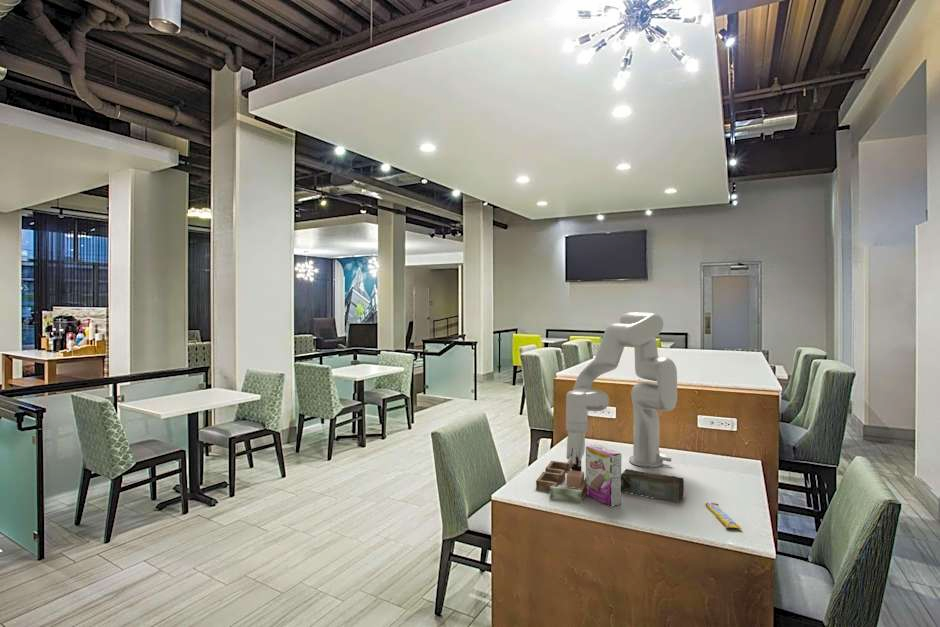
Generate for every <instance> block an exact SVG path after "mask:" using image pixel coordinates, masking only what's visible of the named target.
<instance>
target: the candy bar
mask: <svg viewBox="0 0 940 627" xmlns="http://www.w3.org/2000/svg"><path fill="white" fill-rule="evenodd" d="M705 507H706V508H707V510H709V511H710V512H711V514H712V515H713V514H714V515H715V516H716V517H715V516H714V517H715V518H716V519H717V520H718V522H720V523H721V524H722V525H723V527H725V528H726V529H735V528H736V530H737V529H739V530H743V528H741V526H740V525H739V524H737V523H736V522H735V521H734V519H733V518H731V516H729V515H728V514H727V513H726V512H725V511H724V510H723V509H722V508H721V507H720V506H719V503H715V502H711V504H710V503H709V502H706V503H705Z"/></svg>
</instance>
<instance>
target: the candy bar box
mask: <svg viewBox="0 0 940 627" xmlns="http://www.w3.org/2000/svg"><path fill="white" fill-rule="evenodd" d="M621 474H622V453H621V452H619V451H615V450H612V449H609V448H607V447H605V446H602V445H598V444H591V445H587V446H585V478H586V493H585V496H586V495H587V497H589V498H591V499H593V500H595V499H596V500H595V501H597V500H598V501H597V502H599V501H600V503H602V502H603V503H602V504H604V503H605V504H604V505H606V504H607V505H606V506H608V505H609V506H608V507H610V506H613V505H616V506H618V505H617V504H619V505H621V504H622V492H621ZM620 503H621V504H620ZM613 507H614V506H613Z"/></svg>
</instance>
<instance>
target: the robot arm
mask: <svg viewBox="0 0 940 627" xmlns="http://www.w3.org/2000/svg"><path fill="white" fill-rule="evenodd" d="M620 316H621V317H620V320H619V323H616V322H615V323H612V324H609V325H607V326H606V329H605V330H604V333H603V336H602V338H601V341H600V343H599V347H598V349H597V352H596V354H595V357H594V359H593V360H592V361H591V362H590V363H589V364H588V365H587V366H585V367H584V369H582V371H581V372H580V373H579V374H578V376H577V378H576V380H575V383H574V385H573V389H572V390H569V391H567V393H566V398H565V404H566V405H565V407H566V409H565V411H566V412H565V431H567V440H566V441H567V443H566V459H567V460H569V459H570V458H571V456H572V468H571V470H574V471H582V459H583V456H584V455H585V452H586V446H585V445H586V436H585V435H586V432H588V425H589V424H588V422H589V420H588V418H589V417H588V416H589V415H588V414H589V412H601V411H602V412H603V411H604V410H606V408H608V407H609V405H610V397H609V395H608V394H607V393H606V392H605V391H603V390H600V389H596V388H593V387H592V384H593V383H594V381H595V380H596V379H597V378H599V377H600V376H601V375H604V374H607V373H609V372H612V371H615V369H617V368H618V366H619V363H620V361H621V357H622V355H623V352H624V349H625V348H634V371H635V372H634V373H635V375H636V376H637V378H639V379H642V380H647V382H644V381H643V382H642V381H641V382H638V383H636V384H634V385H633V386H632V389H631V393H630V397H631V403H632V408H633V445H632V446H633V449H632V450H633V451H632V452H633V455H631V456H630V457H629V458H628V459H629V460H628V461H629V463H631V464H633V465H635V466H637V467H642V468H659V467H663V465H664V461H665V462H672V456H669V455H668V454H662V453H661V450H660V417H659V416H660V415H659V413H658V411H663V412H670V411H672V410H674V409H675V407H676V405H677V402H678V370H677V366H676V364H675V363H674V361H673V360H672V359H671V358H669V357H665V356H659V353H658V352H659V351H658V342H657V338H656V337H657V336H659V335H660V333H662V330H663V328H664V320H663V318H662V316H660V314H658V313H654V312H637V311H636V312H633V311H632V312H631V311H630V312H626V313H624V314H622V315H620ZM648 381H653V382H656V383H652V382H648Z"/></svg>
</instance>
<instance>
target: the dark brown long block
mask: <svg viewBox="0 0 940 627" xmlns="http://www.w3.org/2000/svg"><path fill="white" fill-rule="evenodd" d="M684 480H685V479H684V477H680V476H675V475H667V474H659V473H652V472H646V471H642V470H641V471H640V470H633V469H629V468H625V470H624V471H623V472H621V493H625V492H627V494H630V493H633V494H632V495H635V494H637V495H636V496H640V495H643V496H642V497H645V496H648V497H647V498H651V497H653V498H652V499H657V500H663V501H669V502H674V503H679V504H680V503H681V501H682V499H683V498H684V492H685V483H684V482H685V481H684Z"/></svg>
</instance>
